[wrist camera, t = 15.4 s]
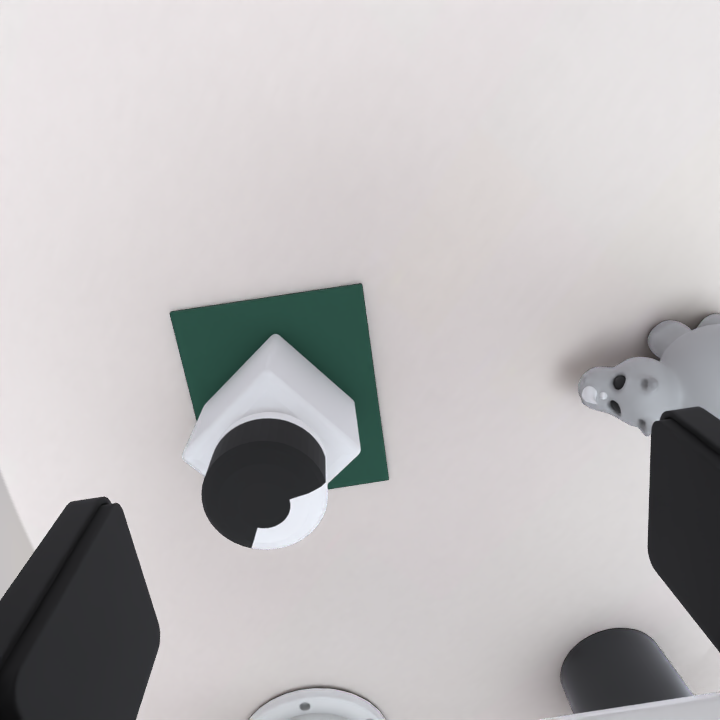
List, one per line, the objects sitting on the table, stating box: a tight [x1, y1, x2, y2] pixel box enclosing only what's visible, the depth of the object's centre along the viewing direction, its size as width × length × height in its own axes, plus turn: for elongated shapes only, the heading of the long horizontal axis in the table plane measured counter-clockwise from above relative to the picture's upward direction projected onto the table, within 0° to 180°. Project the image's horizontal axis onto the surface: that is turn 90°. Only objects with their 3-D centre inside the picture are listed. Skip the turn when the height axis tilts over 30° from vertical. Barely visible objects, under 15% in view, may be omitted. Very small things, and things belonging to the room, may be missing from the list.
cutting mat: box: [170, 283, 389, 489], centre depth 40 cm, size 14×12×1 cm
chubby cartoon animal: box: [578, 313, 720, 436], centre depth 37 cm, size 7×12×8 cm, turn 93°
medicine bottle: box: [182, 334, 361, 550], centre depth 34 cm, size 7×7×12 cm
